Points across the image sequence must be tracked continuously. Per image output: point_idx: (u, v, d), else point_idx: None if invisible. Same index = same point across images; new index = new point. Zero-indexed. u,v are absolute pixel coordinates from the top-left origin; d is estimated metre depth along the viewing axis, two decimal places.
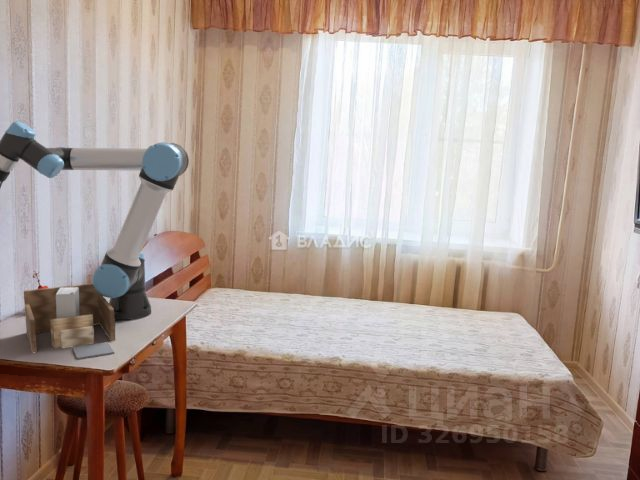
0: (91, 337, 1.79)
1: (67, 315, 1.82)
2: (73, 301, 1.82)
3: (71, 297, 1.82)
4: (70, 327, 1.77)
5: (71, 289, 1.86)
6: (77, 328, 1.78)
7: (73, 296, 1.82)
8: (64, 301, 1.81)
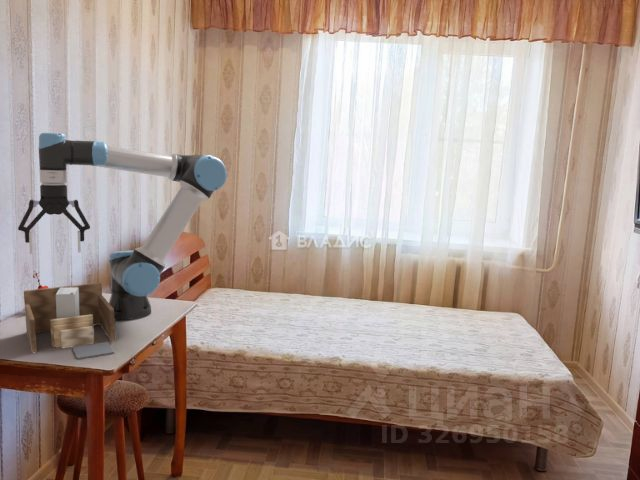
0: (91, 337, 1.79)
1: (67, 315, 1.82)
2: (73, 301, 1.82)
3: (71, 297, 1.82)
4: (70, 327, 1.77)
5: (71, 289, 1.86)
6: (77, 328, 1.78)
7: (73, 296, 1.82)
8: (63, 301, 1.81)
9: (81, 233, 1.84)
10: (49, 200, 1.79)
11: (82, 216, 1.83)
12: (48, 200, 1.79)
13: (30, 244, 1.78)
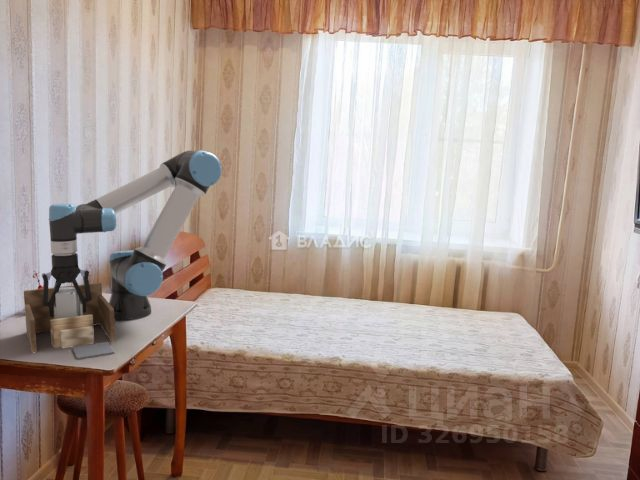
0: (91, 337, 1.79)
1: (67, 315, 1.82)
2: (73, 301, 1.82)
3: (71, 297, 1.82)
4: (70, 327, 1.77)
5: (71, 289, 1.86)
6: (77, 328, 1.78)
7: (73, 296, 1.82)
8: (63, 300, 1.81)
9: (83, 305, 1.87)
10: (60, 268, 1.82)
11: (88, 287, 1.87)
12: (59, 268, 1.82)
13: (55, 318, 1.83)
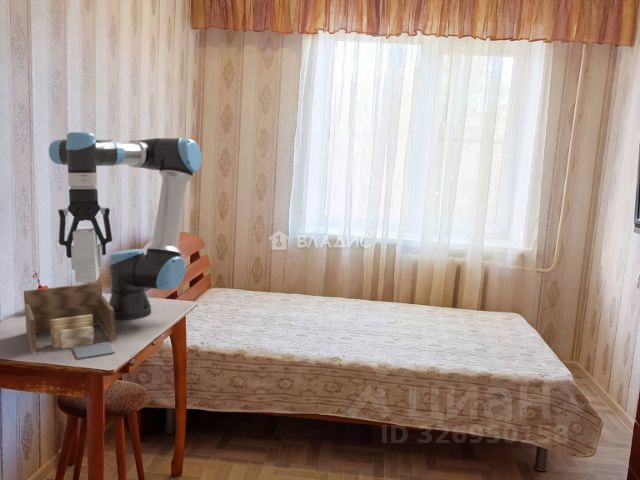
0: (91, 337, 1.79)
1: (85, 256, 1.65)
2: (92, 240, 1.64)
3: (90, 235, 1.64)
4: (70, 327, 1.77)
5: (89, 228, 1.68)
6: (77, 328, 1.78)
7: (92, 234, 1.64)
8: (81, 239, 1.64)
9: (102, 246, 1.70)
10: (78, 203, 1.65)
11: (108, 226, 1.69)
12: (77, 204, 1.64)
13: (73, 259, 1.66)
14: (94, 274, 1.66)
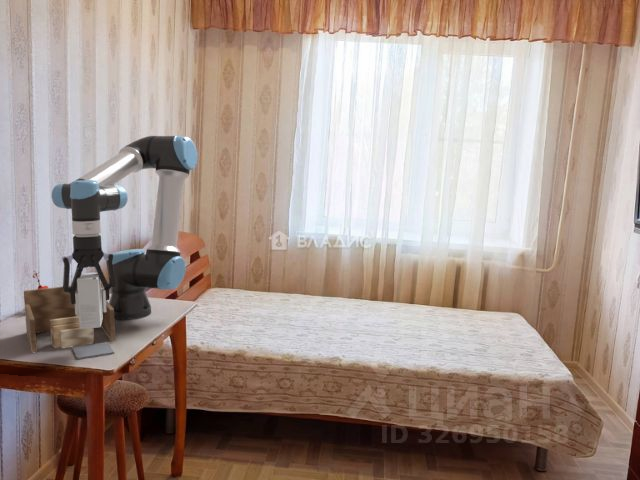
0: (91, 337, 1.79)
1: (90, 302, 1.67)
2: (96, 287, 1.66)
3: (94, 282, 1.66)
4: (70, 327, 1.77)
5: (93, 274, 1.70)
6: (77, 328, 1.78)
7: (96, 281, 1.66)
8: (86, 286, 1.66)
9: (106, 291, 1.72)
10: (82, 250, 1.66)
11: (112, 272, 1.71)
12: (81, 251, 1.66)
13: (77, 305, 1.68)
14: (98, 320, 1.68)
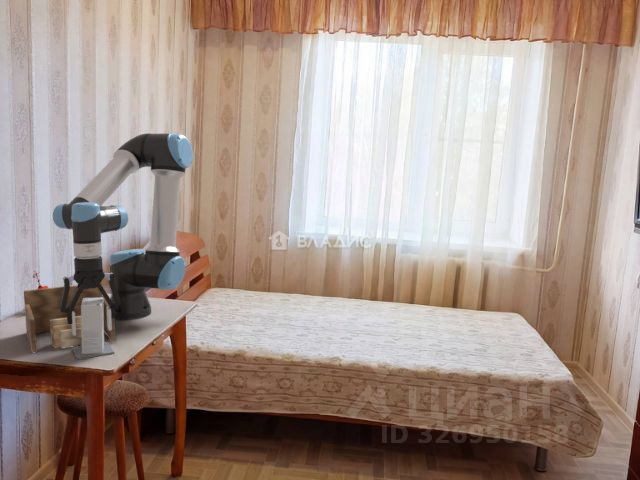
0: None
1: (93, 328, 1.68)
2: (100, 313, 1.68)
3: (98, 309, 1.67)
4: (70, 327, 1.77)
5: (96, 300, 1.72)
6: (77, 328, 1.78)
7: (100, 307, 1.68)
8: (89, 312, 1.67)
9: (111, 310, 1.73)
10: (84, 273, 1.68)
11: (115, 291, 1.73)
12: (83, 273, 1.67)
13: (73, 325, 1.68)
14: (101, 345, 1.70)
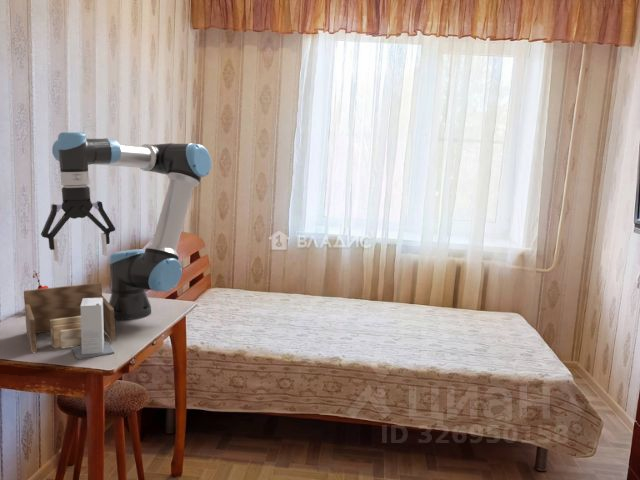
0: None
1: (93, 328, 1.68)
2: (99, 313, 1.68)
3: (97, 309, 1.67)
4: (70, 327, 1.77)
5: (96, 300, 1.72)
6: (77, 328, 1.78)
7: (99, 307, 1.68)
8: (89, 313, 1.67)
9: (106, 235, 1.77)
10: (73, 203, 1.70)
11: (107, 218, 1.75)
12: (72, 203, 1.69)
13: (56, 251, 1.69)
14: (100, 346, 1.70)
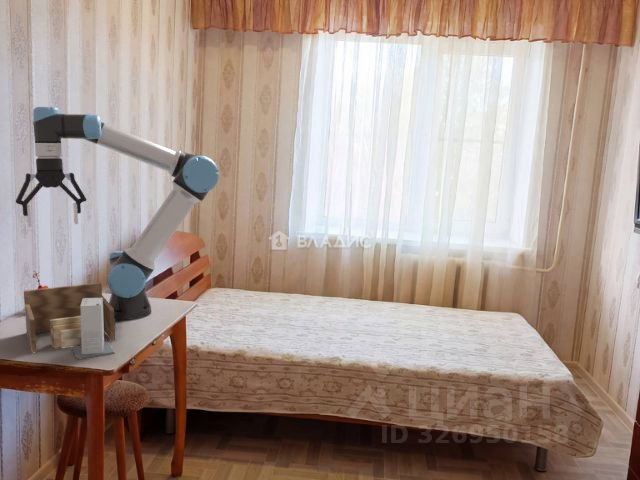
0: None
1: (93, 328, 1.68)
2: (99, 313, 1.68)
3: (97, 309, 1.67)
4: (70, 327, 1.77)
5: (96, 300, 1.72)
6: (77, 328, 1.78)
7: (99, 307, 1.68)
8: (89, 313, 1.67)
9: (78, 205, 1.89)
10: (46, 173, 1.82)
11: (78, 188, 1.88)
12: (45, 173, 1.82)
13: (29, 217, 1.81)
14: (100, 346, 1.70)
